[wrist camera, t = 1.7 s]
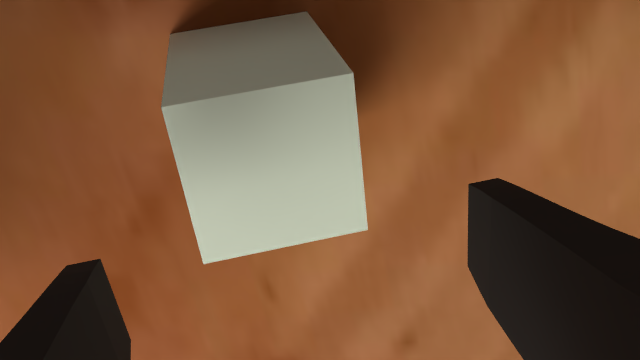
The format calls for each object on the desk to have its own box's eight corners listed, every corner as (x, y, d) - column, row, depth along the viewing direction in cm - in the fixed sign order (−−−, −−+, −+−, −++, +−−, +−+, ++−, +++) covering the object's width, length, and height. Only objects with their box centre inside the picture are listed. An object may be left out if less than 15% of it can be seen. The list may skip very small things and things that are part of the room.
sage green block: (200, 157, 21) (203, 263, 16) (170, 34, 19) (161, 107, 13) (322, 133, 22) (367, 229, 16) (306, 11, 19) (353, 72, 14)
